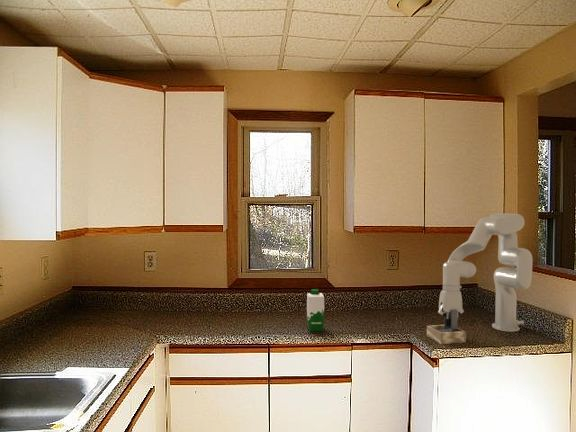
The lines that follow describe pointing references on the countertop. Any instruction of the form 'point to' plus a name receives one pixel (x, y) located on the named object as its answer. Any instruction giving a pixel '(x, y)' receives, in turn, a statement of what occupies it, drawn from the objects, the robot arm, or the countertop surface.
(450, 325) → the steel L-bracket
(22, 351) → the countertop surface
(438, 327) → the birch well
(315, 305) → the milk carton
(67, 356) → the countertop surface
